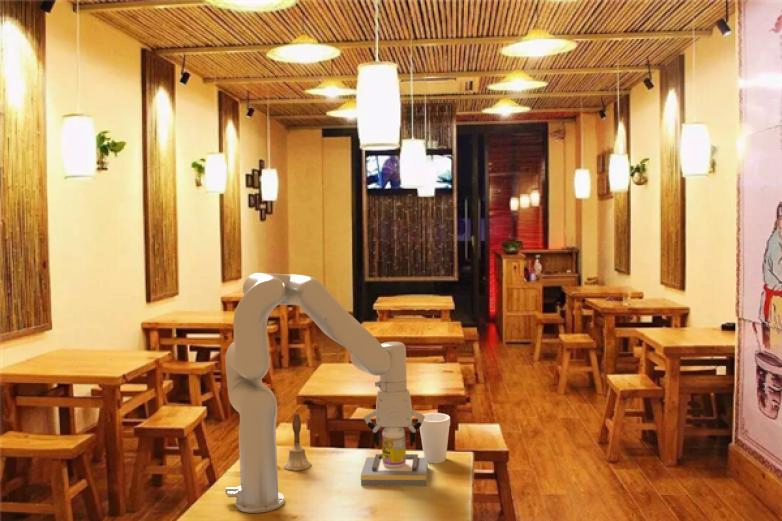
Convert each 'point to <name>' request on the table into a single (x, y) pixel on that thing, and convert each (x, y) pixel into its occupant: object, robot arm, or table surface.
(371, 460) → the loading dock
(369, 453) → the table surface
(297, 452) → the hand bell
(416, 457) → the bay rails
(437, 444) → the foam cup
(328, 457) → the table surface
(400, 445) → the supplement bottle
